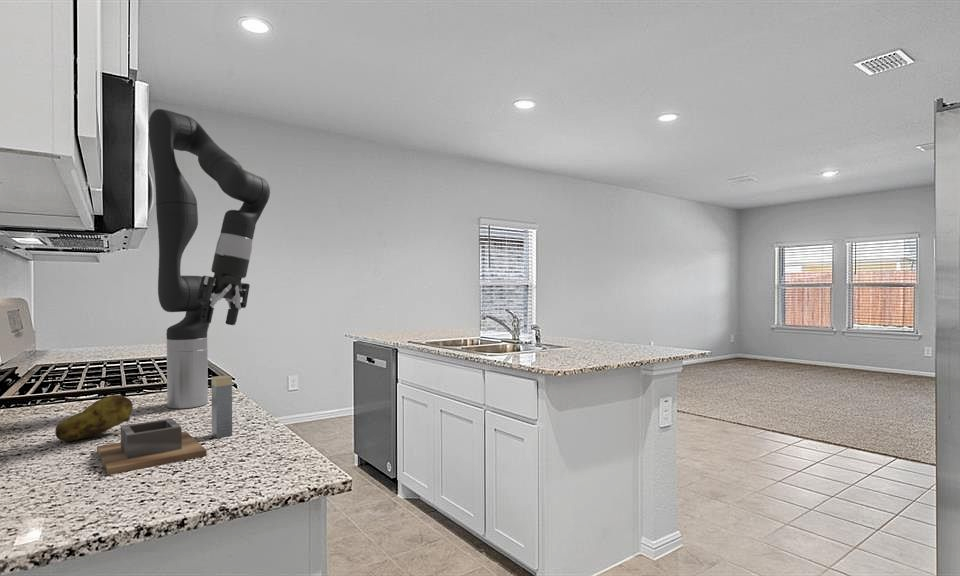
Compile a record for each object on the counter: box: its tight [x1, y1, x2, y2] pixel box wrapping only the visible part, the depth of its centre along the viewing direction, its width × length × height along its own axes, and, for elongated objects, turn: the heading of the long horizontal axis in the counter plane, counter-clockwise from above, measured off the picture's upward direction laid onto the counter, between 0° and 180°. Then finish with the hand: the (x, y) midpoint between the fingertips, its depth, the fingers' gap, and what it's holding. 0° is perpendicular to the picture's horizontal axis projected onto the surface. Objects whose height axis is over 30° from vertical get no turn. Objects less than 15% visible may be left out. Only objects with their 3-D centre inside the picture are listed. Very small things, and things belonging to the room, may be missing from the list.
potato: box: [54, 394, 134, 443], centre depth 111 cm, size 8×13×8 cm, turn 124°
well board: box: [96, 418, 208, 476], centre depth 100 cm, size 16×15×5 cm
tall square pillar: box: [210, 374, 233, 439], centre depth 112 cm, size 4×3×12 cm
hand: (218, 323), depth 125 cm, fingers open, 8 cm apart
